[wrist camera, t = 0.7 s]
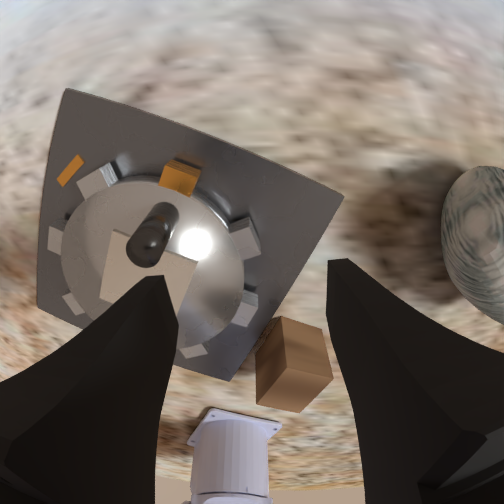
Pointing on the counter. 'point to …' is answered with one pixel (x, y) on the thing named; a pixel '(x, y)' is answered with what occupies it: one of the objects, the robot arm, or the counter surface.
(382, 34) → the counter surface
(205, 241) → the sprocket
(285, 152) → the counter surface
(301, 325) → the link block
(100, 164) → the plate
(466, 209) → the grey oval stone
